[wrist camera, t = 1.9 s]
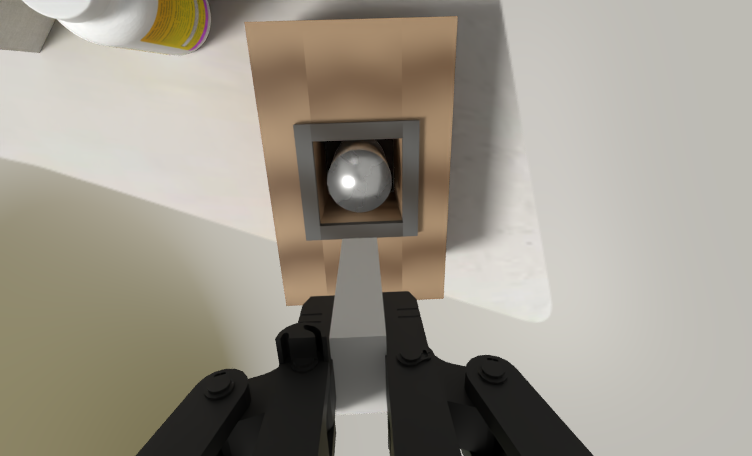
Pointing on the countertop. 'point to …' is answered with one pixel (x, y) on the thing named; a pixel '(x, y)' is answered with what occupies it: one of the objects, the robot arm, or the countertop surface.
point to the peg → (359, 175)
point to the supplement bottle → (133, 22)
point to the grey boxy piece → (22, 27)
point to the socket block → (357, 122)
